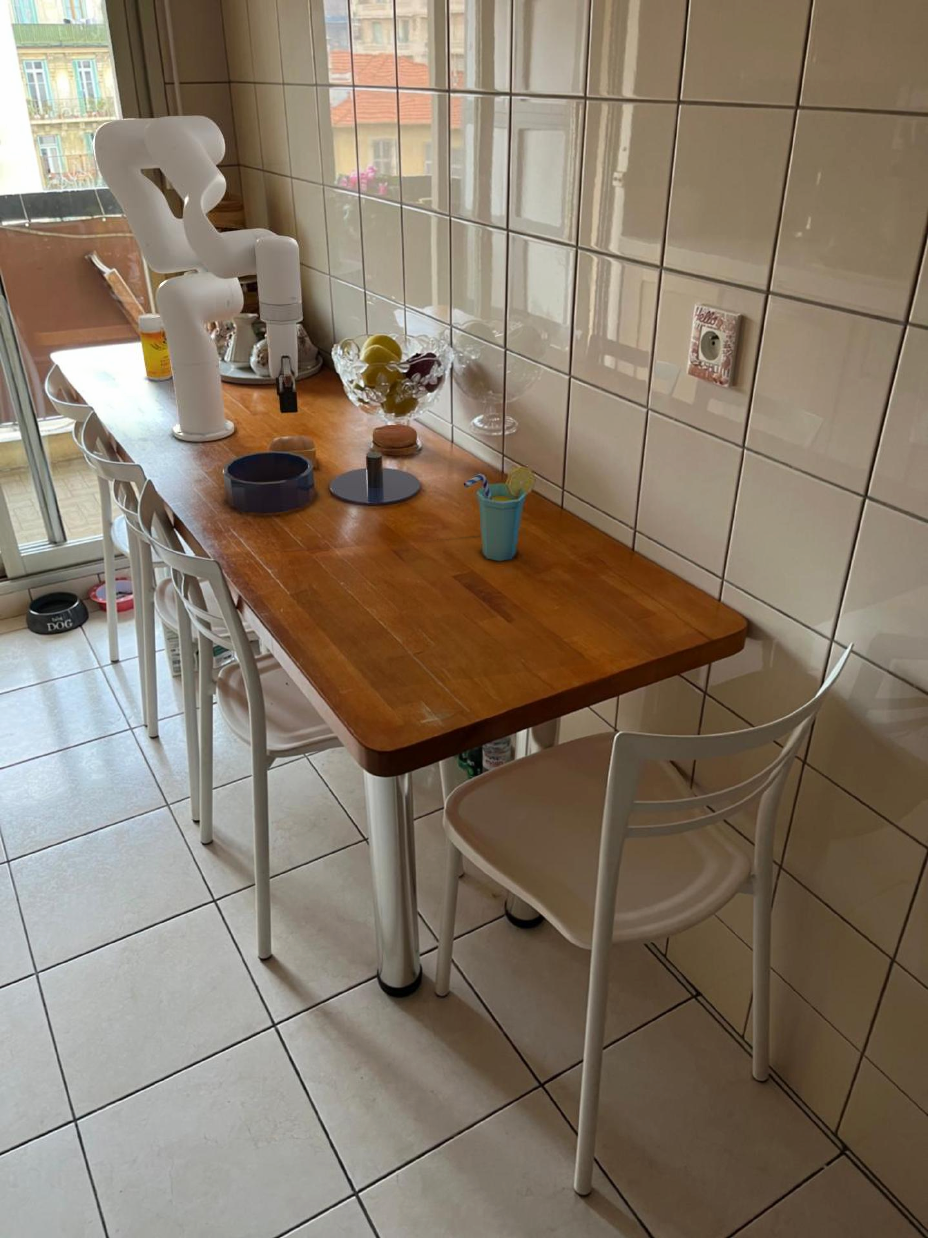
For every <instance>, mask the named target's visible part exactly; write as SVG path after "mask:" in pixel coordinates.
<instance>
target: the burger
mask: <svg viewBox="0 0 928 1238" xmlns="http://www.w3.org/2000/svg"><path fill="white" fill-rule="evenodd" d="M396 424H397V425H388V424H385V425H381V426H377V427H375V428H374V429H373V431H372V441H371V442H372V450H373V452H380V453H382V456H389V455H390V456H409V455H412V454H414V453H416V452H417V451H418V449H419V444H418V442H417V441H418V433H417V430H416V429H415V428H414V427H412V426H410V425H407V424H402V423H396Z"/></svg>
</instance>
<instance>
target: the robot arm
mask: <svg viewBox="0 0 928 1238" xmlns="http://www.w3.org/2000/svg"><path fill="white" fill-rule="evenodd" d="M93 154H94V158H95V163H96V165H97V168H98V171H99V174H100V176H101V177H102V179H103V181H104V183H105V185H106V186H107V188H108V190H109V191H110V193H111V194H112V195H113V197H114V199H115V200H116V202H117V203H118V205H119V206H120V208H121V210H122V212H123V214H124V216H125V218H126V221H127V224H128V226H129V228H130V230H131V232H132V234H133V238H134V239H135V241H136V242H135V243H136V244H137V247H138V249H139V250H140V252H141V255H142V257H143V259H144V261H145V263H146V264H147V266H148V267H149V268H150V270H152V271H153V272H155V273H157V274H172V273H173V274H174V273H180V272H188V271H194V270H196V271H197V273H190V274H184V275H183V274H182V275H177V276H174V277H171V278H168V279H166V280H164V281H163V282H161V283H160V284H159V286H158V287H157V289H156V292H155V304H156V308H157V311H158V314H160V317H161V320H162V323H163V326H164V330H165V334H166V338H167V343H168V349H169V356H170V363H171V370H172V374H171V376H172V382H173V387H174V389H173V390H174V394H175V401H176V402H175V403H176V408H177V415H178V420H179V422H178V423H176V424H175V425H173V427H172V434H173V436H174V437H176V438H177V439H179V440H182V441H185V442H210V441H212V442H213V441H217V440H221V439H224V438H227V437H229V436H231V435H232V434H233V433H234V432H235V424H234V422H232V421H231V420H228V419H226V409H225V402H224V401H225V400H224V394H223V392H224V391H223V384H222V376H221V368H220V360H219V353H218V347H217V344H216V342H215V340H214V339H213V336H211V335H210V334H209V333H208V331H207V330H206V328H205V325H208V324H212V323H216V322H220V321H221V322H222V321H226V320H230V319H233V318H235V317H237V316H238V315H240V314H241V312H242V310H243V308H244V301H245V300H244V293H243V289H242V286H241V283H240V281H239V278H241V277H246V276H255V275H256V280H257V294H258V305H259V316H260V317H259V321H261V322H263V323H265V325H266V328H265V329H266V347H267V358H268V359H267V360H268V370H269V375H270V378H271V379H272V380H275V387H276V388H275V389H276V395H277V397H278V402H279V403H278V404H279V413H281V414H295V413H298V411H299V409H298V392H297V390H296V381H295V379H296V378H297V377H298V374H299V373H298V372H299V370H298V369H299V356H298V355H299V352H298V351H299V349H298V347H299V346H298V330H297V329H298V328H297V327H298V326H297V324H298V323H300V322H302V321H303V319H304V317H303V299H302V278H301V261H300V247H299V243H298V242H297V240H296V239H295V238H294V237H290V236H286V235H278V234H277V233H275V232H273V231H271V230H269V229H266V228H260V227H259V228H249V229H239V230H231V231H223V232H219V231H218V230H217V229H216V228H215V226H214V225H213V224H212V222H211V220H209V218H208V216H207V215H206V214H207V213H209V212H210V211H212V210H213V209H214V208H215V207H216V206H217V205H218V204H219V203H220V202H221V201H222V199H223V198H224V196H225V193H226V191H227V181H226V178H225V176H224V174H222V172H221V171H220V169H219V168H218V167H217V165H219V164H220V163H221V162H222V160H223V159H224V157H225V154H226V143H225V138H224V135H223V134H222V131H221V129H220V128H219V126H218V125H217V123H215V122H214V121H213V120H212V119H211V118H209V117H207V116H204V115H168V116H161V117H154V118H152V117H151V118H148V117H147V118H120V119H114V120H110V121H107V122H104V123H103V124H101V125H100V126H99V127H98V128H97V129H96V131H95V133H94V137H93ZM146 169H147V170H148V169H160V171H161V173H162V174H163V175H164V177H165V178H166V180H168V182H169V184H170V185H171V186H172V188H173V189H174V190H175V192H176V193H177V194H178V196H179V197H180V199H181V200H182V201H183V202H184V205H183V209H182V218H178V217H175V215H174V214H173V212H172V210H171V208H170V206H169V203H168V201H167V199H166V196H165V195H164V193H163V192H162V191H161V189H159V187H158V186H157V185H156V184H155V183H154V182H153V181H152V180H150V178H148V177H147V176H145V175H144V174H143V173H142V172H141V170H146Z"/></svg>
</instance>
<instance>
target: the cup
mask: <svg viewBox="0 0 928 1238" xmlns="http://www.w3.org/2000/svg"><path fill="white" fill-rule="evenodd" d="M479 481H481V484H482V485H481V486H482V487H481V488H480V489H479V490H478V491H477V492H476V498H477V500H478V505H479V518H480V519H479V521H480V535H481V550H482V554H483V555H484V556H485V557H486V559H488V560H493V561H497V562H500V561H507V560H511V559H512V558H513V557H514V556H515V555H516V553H517V548H518V547H517V546H518V541H519V533H520V526H521V519H522V513H523V506H524V502H525V501H526V498H527V495H529V494H531V493H532V491H533V489H534V486H535V484H536V477H535V475H534V472H533V469H531V468H528V467H525V466H521V465H519V466H517V467H516V468H514V469H513V470H511V471H509V473H508V476H507V478H506V481H505V483H503V482H500V483H491V484H489V483H488V480H487V478H486V476H485V475H484V474H481V473H478V474H476V475H475V476H473V477H471V478H469V479H468V480H466V481H464V482H463V485H464V487H465V488H469V487H471V486H472V485H473V484H475V483H478V482H479Z"/></svg>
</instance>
